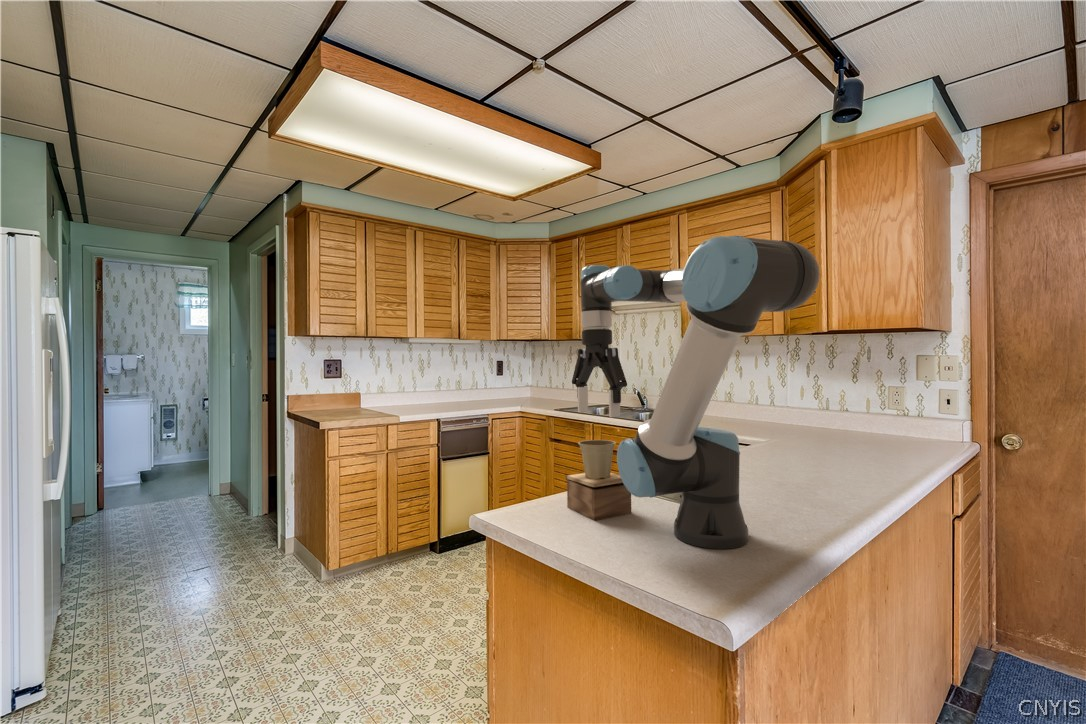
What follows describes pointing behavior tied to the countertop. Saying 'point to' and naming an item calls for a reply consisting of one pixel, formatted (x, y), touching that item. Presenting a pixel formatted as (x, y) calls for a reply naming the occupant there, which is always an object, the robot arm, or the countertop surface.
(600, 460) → the flower pot
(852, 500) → the countertop surface
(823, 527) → the countertop surface
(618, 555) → the countertop surface
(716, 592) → the countertop surface
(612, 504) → the box
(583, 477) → the lid
